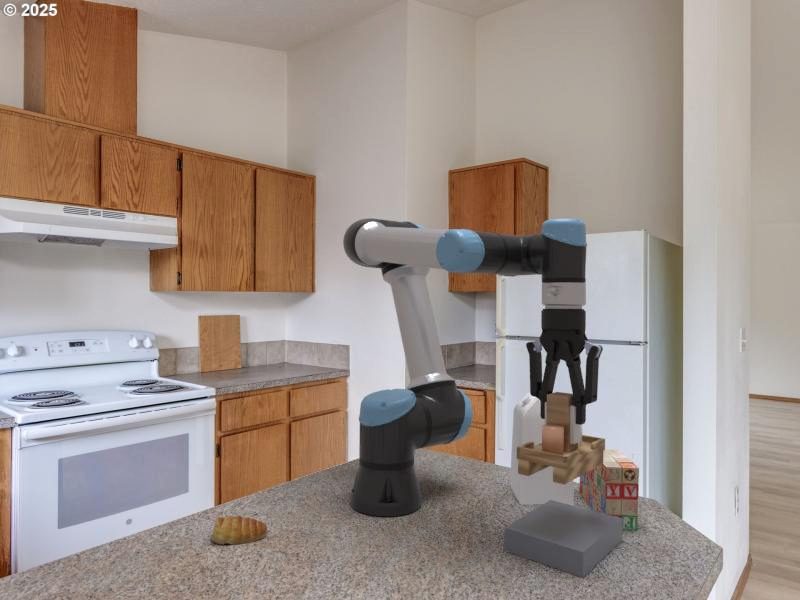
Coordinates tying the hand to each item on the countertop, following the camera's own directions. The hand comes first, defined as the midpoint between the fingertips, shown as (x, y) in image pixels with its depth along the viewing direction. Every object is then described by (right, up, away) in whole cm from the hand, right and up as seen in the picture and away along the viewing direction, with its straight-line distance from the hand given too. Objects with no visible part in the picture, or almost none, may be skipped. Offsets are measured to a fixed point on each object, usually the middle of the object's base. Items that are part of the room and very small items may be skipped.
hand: (562, 439), depth 100 cm
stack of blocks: (+14, -19, +18) cm, 30 cm away
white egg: (+2, -2, +3) cm, 4 cm away
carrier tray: (0, -5, 0) cm, 5 cm away
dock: (+1, -19, +1) cm, 19 cm away
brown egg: (-3, -1, -3) cm, 4 cm away
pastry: (-58, -19, +3) cm, 61 cm away
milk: (+3, -19, +26) cm, 33 cm away
